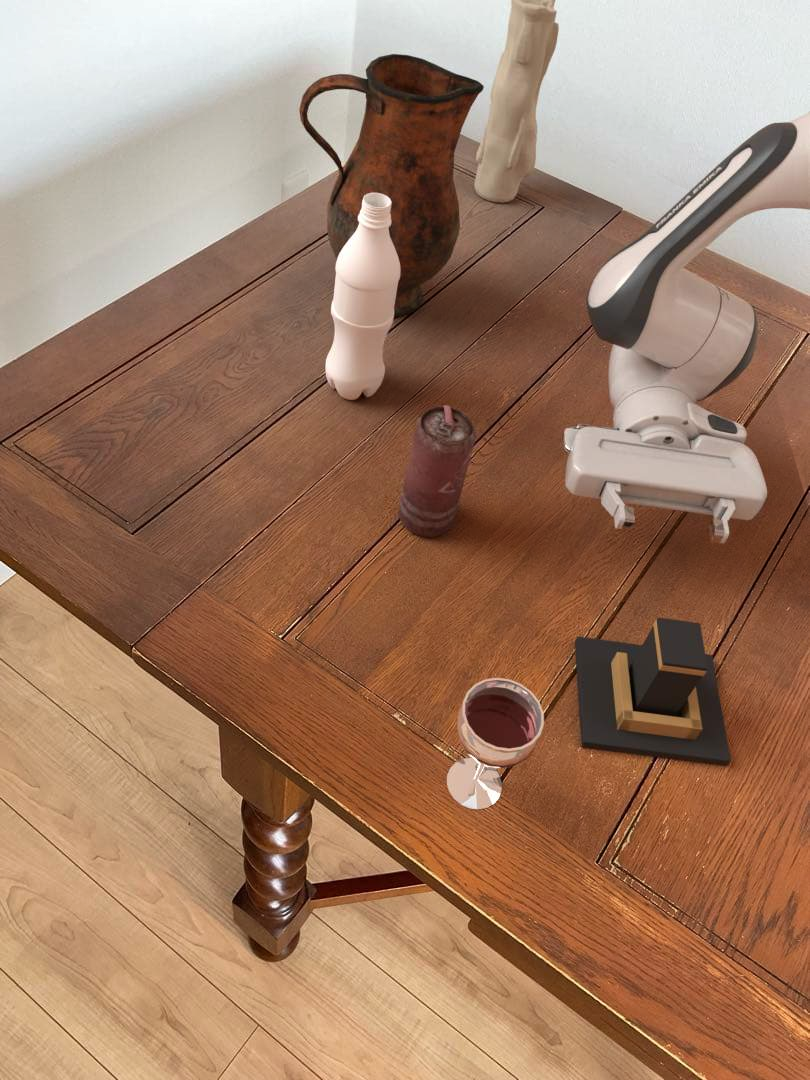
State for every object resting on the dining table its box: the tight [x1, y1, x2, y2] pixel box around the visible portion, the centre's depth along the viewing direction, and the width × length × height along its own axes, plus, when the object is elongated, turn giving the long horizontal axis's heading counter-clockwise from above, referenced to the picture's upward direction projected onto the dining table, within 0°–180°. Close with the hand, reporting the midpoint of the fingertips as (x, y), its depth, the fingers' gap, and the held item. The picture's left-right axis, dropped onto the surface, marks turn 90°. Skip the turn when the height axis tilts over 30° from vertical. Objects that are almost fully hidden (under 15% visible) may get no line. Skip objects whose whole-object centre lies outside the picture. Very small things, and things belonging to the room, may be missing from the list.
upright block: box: [629, 617, 708, 717], centre depth 90 cm, size 4×5×9 cm
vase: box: [474, 0, 560, 203], centre depth 143 cm, size 9×8×30 cm
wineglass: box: [446, 677, 545, 810], centre depth 81 cm, size 7×7×12 cm
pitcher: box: [298, 53, 485, 318], centre depth 120 cm, size 17×21×30 cm
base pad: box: [574, 636, 732, 767], centre depth 93 cm, size 14×12×3 cm
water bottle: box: [324, 193, 400, 401], centre depth 109 cm, size 7×7×25 cm
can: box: [397, 404, 477, 538], centre depth 101 cm, size 6×6×14 cm
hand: (672, 532), depth 94 cm, fingers open, 8 cm apart
